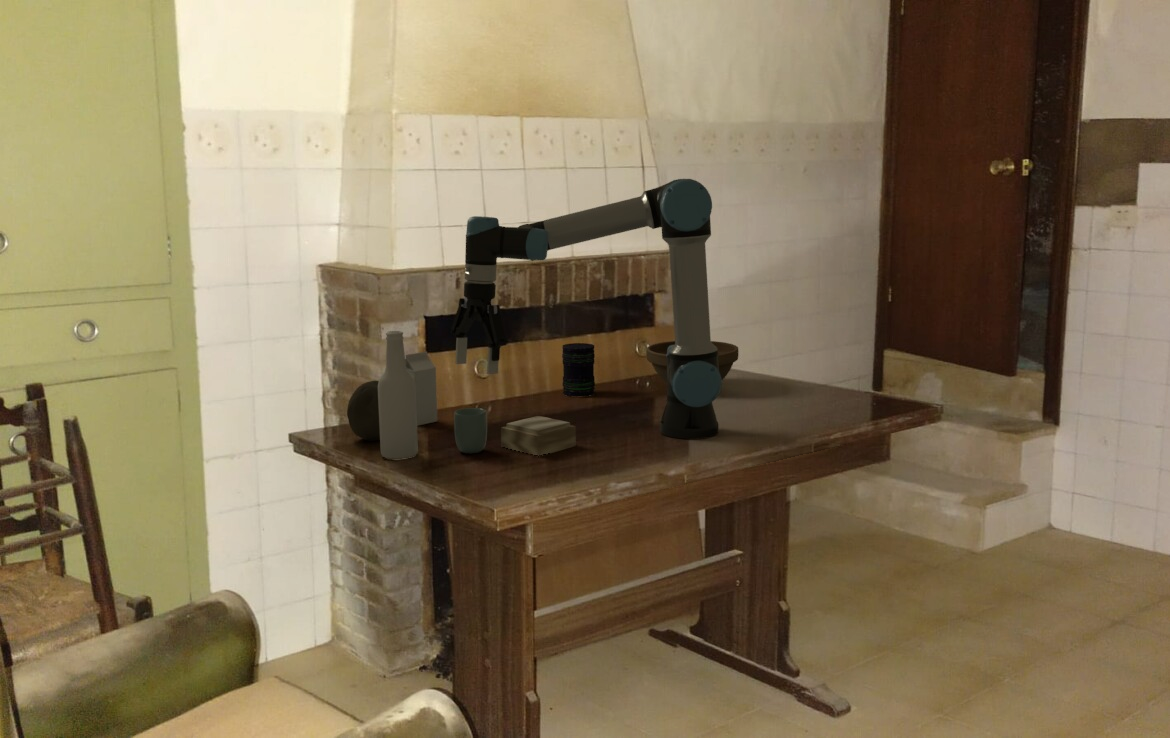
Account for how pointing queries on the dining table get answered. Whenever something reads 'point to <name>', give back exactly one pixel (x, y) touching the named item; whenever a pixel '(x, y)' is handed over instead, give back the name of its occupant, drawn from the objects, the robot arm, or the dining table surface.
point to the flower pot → (659, 350)
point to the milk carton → (423, 386)
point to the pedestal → (538, 435)
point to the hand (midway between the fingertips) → (476, 368)
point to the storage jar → (578, 369)
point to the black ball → (365, 411)
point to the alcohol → (397, 403)
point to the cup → (470, 429)
